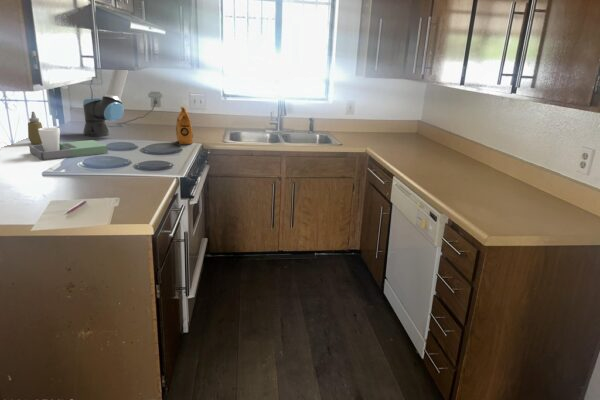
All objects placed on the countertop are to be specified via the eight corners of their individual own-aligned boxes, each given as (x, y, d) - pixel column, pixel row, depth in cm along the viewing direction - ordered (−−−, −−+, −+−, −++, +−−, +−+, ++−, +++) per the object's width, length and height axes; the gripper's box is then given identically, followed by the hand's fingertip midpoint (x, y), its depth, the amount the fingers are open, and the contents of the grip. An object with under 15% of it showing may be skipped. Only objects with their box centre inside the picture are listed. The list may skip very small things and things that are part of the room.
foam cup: (62, 155, 218) (59, 130, 214) (41, 156, 214) (37, 130, 210) (62, 151, 226) (59, 127, 222) (42, 152, 222) (38, 127, 218)
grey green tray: (93, 146, 244) (93, 139, 242) (108, 153, 231) (107, 145, 230) (30, 153, 221) (29, 145, 220) (42, 160, 209) (41, 152, 208)
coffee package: (176, 144, 262) (175, 108, 255) (176, 140, 273) (175, 105, 266) (193, 144, 264) (192, 108, 258) (192, 140, 276) (191, 106, 269)
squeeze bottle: (48, 142, 247) (44, 111, 241) (39, 145, 239) (34, 113, 234) (35, 141, 248) (31, 110, 242) (25, 144, 240) (20, 112, 234)
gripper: (40, 46, 236) (45, 85, 242) (56, 47, 219) (61, 89, 226) (55, 46, 241) (60, 85, 247) (72, 47, 225) (76, 89, 231)
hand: (60, 87), depth 237 cm, fingers open, 13 cm apart
